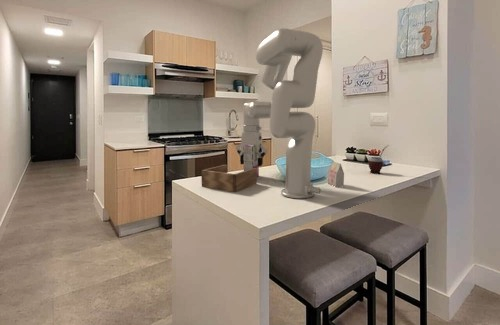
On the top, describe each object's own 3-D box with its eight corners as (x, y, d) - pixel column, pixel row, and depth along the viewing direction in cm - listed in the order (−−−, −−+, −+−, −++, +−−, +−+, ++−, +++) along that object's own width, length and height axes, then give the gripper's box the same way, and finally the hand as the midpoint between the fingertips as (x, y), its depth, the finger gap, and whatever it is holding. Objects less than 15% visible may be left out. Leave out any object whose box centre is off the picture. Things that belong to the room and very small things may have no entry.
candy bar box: (249, 175, 154) (249, 142, 152) (259, 175, 153) (259, 143, 150) (242, 180, 144) (242, 145, 141) (253, 180, 142) (253, 145, 140)
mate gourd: (364, 172, 162) (366, 144, 160) (375, 171, 166) (377, 143, 163) (376, 175, 156) (378, 145, 153) (387, 173, 159) (389, 144, 156)
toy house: (335, 183, 138) (336, 161, 136) (343, 186, 131) (344, 163, 130) (327, 183, 137) (328, 161, 135) (335, 187, 130) (336, 164, 129)
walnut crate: (256, 183, 136) (256, 168, 135) (235, 192, 122) (235, 174, 121) (225, 179, 145) (224, 164, 144) (201, 186, 131) (201, 170, 130)
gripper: (271, 129, 143) (270, 165, 146) (240, 128, 152) (240, 162, 155) (263, 130, 137) (263, 167, 140) (231, 128, 146) (232, 164, 149)
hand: (251, 164), depth 148 cm, fingers open, 9 cm apart
